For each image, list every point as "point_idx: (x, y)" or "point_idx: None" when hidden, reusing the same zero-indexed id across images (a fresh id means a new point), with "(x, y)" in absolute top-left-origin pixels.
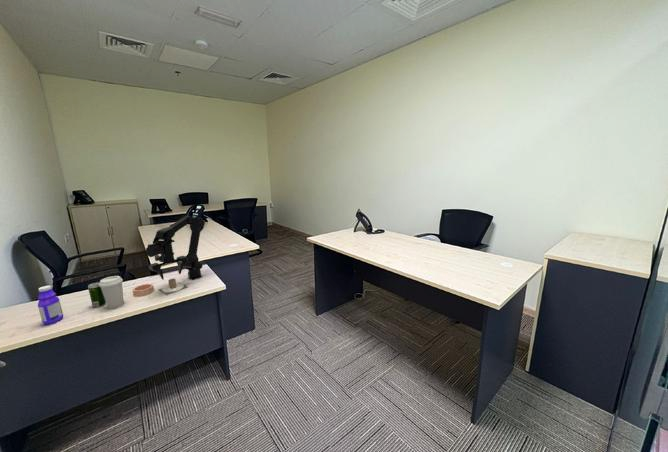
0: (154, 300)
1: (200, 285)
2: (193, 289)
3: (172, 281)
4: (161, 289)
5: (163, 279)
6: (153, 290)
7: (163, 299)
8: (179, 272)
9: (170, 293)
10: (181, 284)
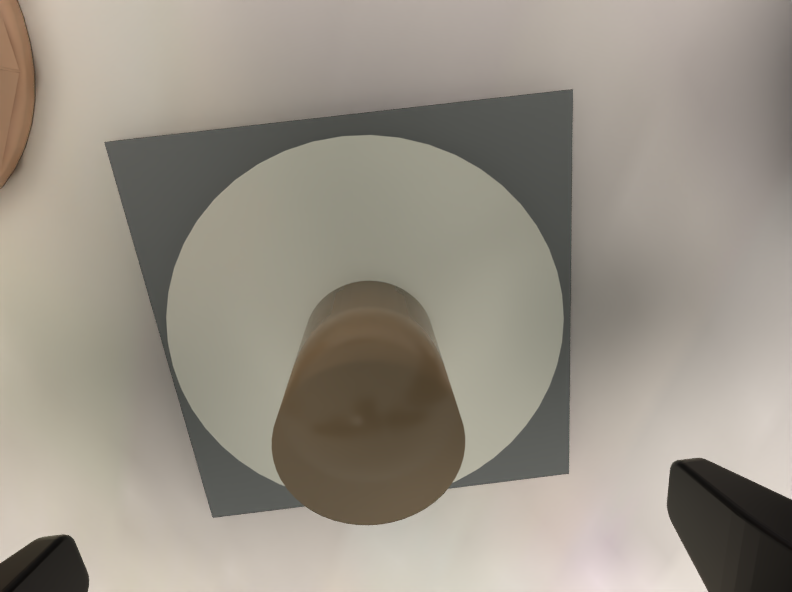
0: (36, 533)
1: None
2: (576, 566)
3: (358, 507)
4: (174, 188)
5: (86, 585)
6: (6, 139)
7: (155, 586)
8: (717, 580)
9: (274, 499)
10: (534, 326)
